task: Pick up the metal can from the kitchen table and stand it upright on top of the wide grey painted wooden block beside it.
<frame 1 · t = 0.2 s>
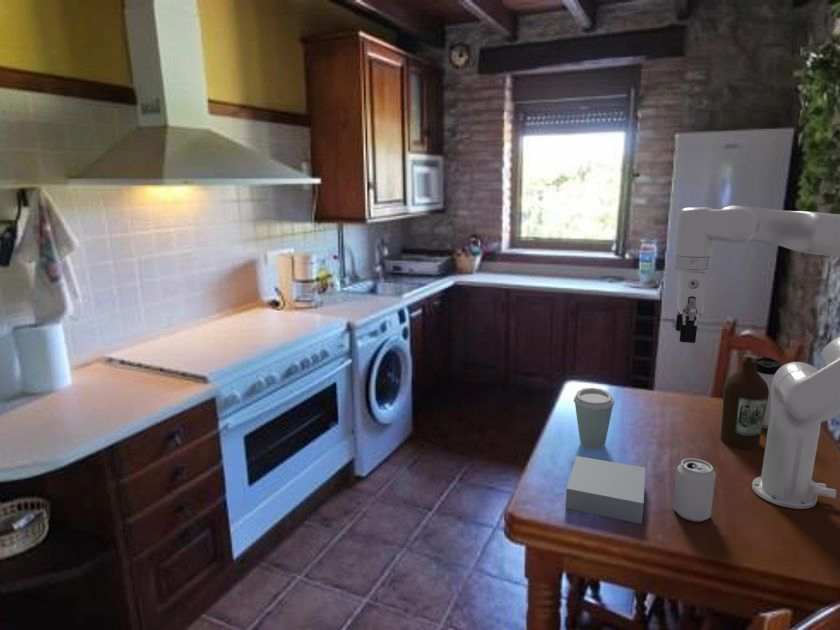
hand: (684, 336, 128), 36 cm above the table, tool pointing down, fingers open, 9 cm apart
grey block: (605, 497, 128), on the table
disposable coffee cup: (591, 444, 154), on the table
can: (691, 514, 121), on the table
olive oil: (739, 442, 154), on the table
travel mug: (759, 424, 164), on the table
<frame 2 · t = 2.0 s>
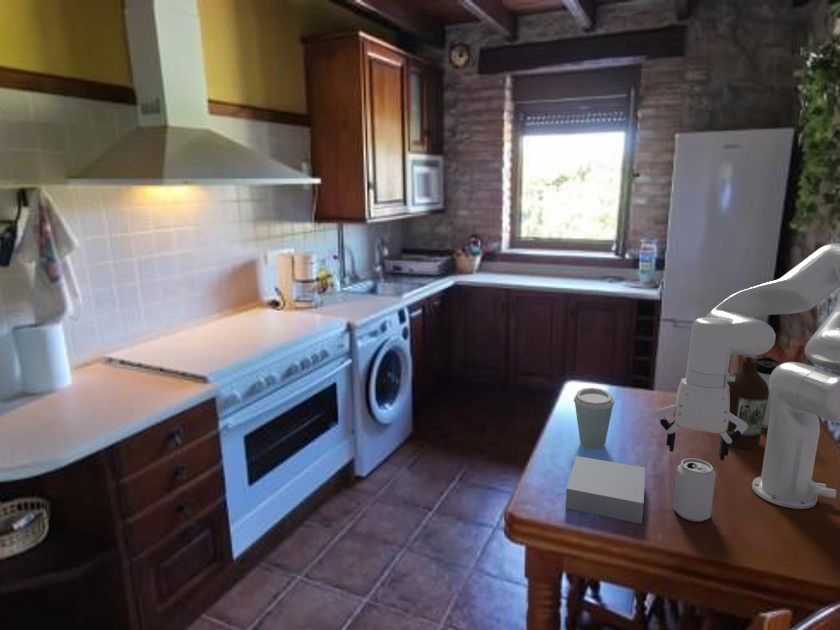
hand: (695, 453, 118), 15 cm above the table, tool pointing down, fingers open, 9 cm apart
nothing on the table moved.
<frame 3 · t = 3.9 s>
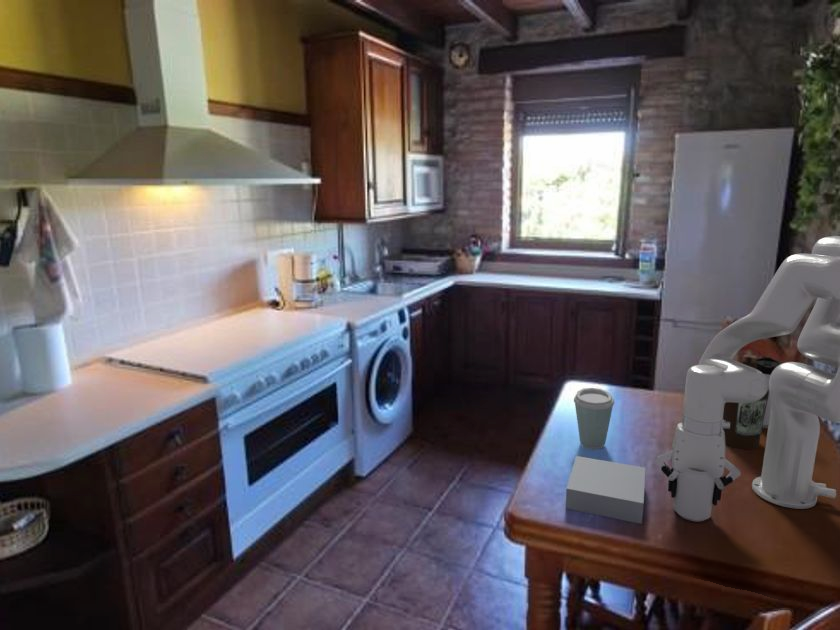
hand: (693, 497, 120), 4 cm above the table, tool pointing down, fingers closed on can, 7 cm apart
can: (691, 514, 121), on the table, touching gripper
everything else where it was.
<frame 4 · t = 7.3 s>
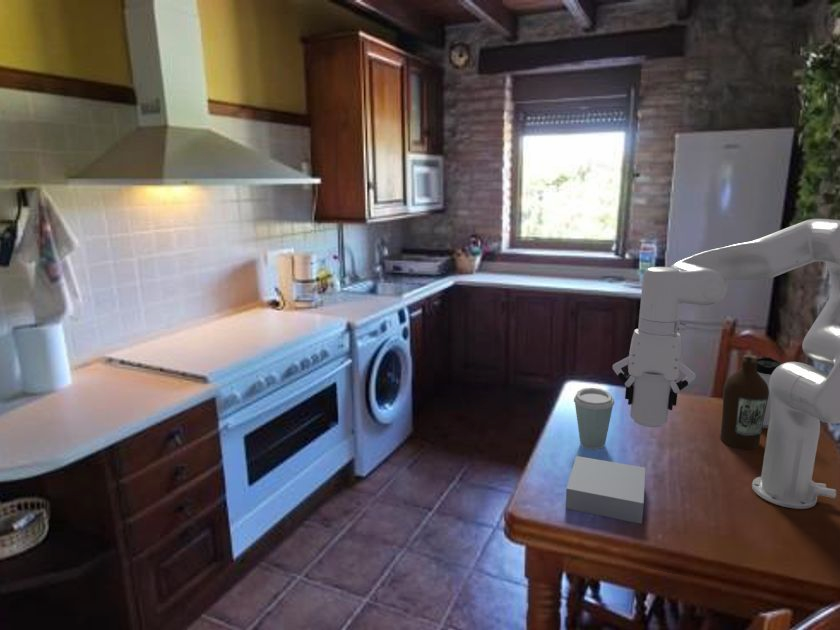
hand: (649, 404, 119), 24 cm above the table, tool pointing down, fingers closed on can, 7 cm apart
can: (648, 422, 120), point 20 cm above the table, touching gripper
everything else where it was.
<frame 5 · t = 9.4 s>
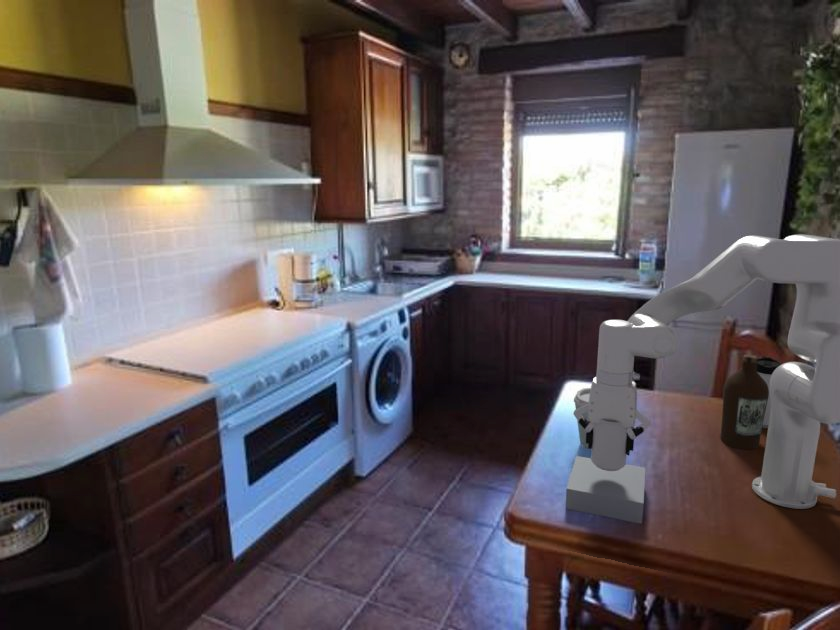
hand: (609, 449, 125), 12 cm above the table, tool pointing down, fingers closed on can, 7 cm apart
can: (607, 465, 126), point 8 cm above the table, touching gripper
everything else where it was.
when the fingers open (10 cm above the table, at t = 11.1 s): can stays where it is, resting on grey block.
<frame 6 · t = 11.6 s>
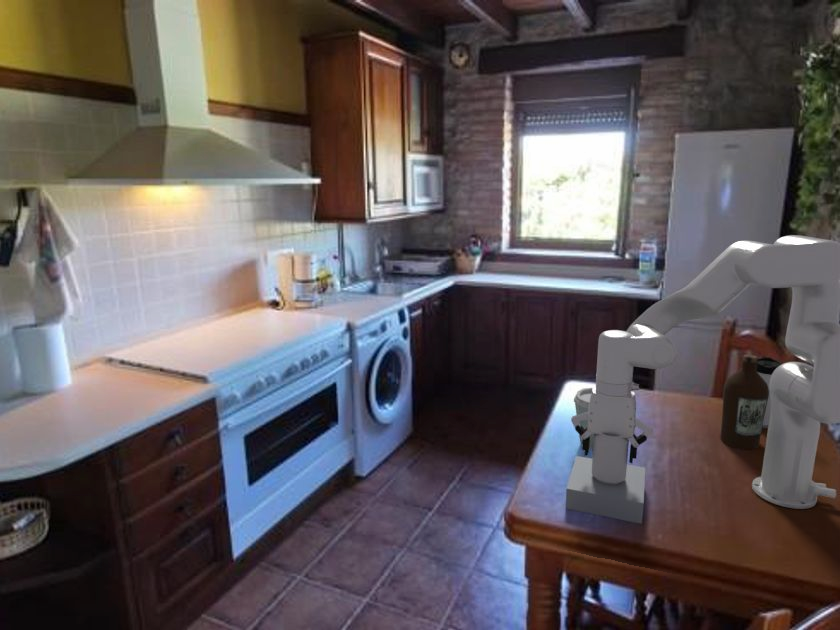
hand: (608, 456, 126), 10 cm above the table, tool pointing down, fingers open, 9 cm apart
can: (608, 478, 127), point 5 cm above the table, touching grey block
everything else where it was.
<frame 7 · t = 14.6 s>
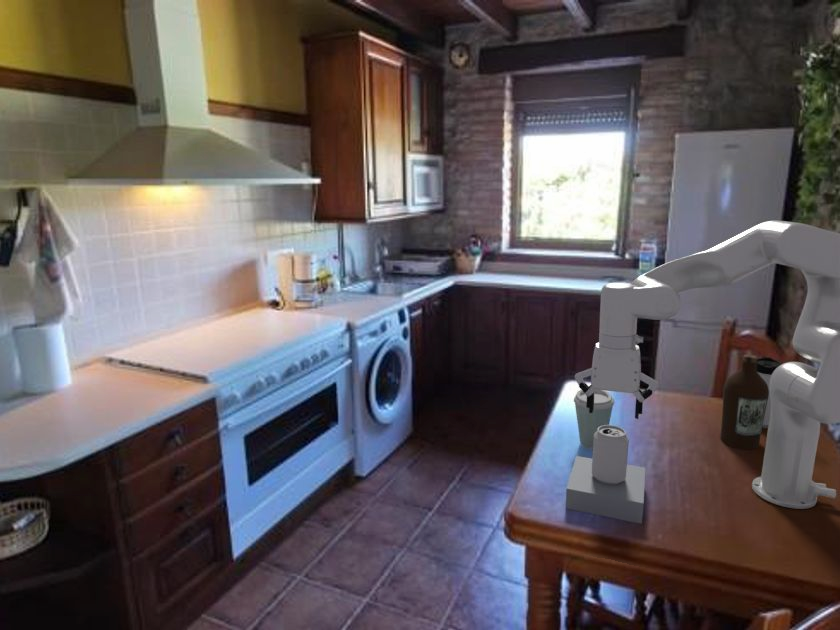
hand: (613, 413, 123), 21 cm above the table, tool pointing down, fingers open, 9 cm apart
nothing on the table moved.
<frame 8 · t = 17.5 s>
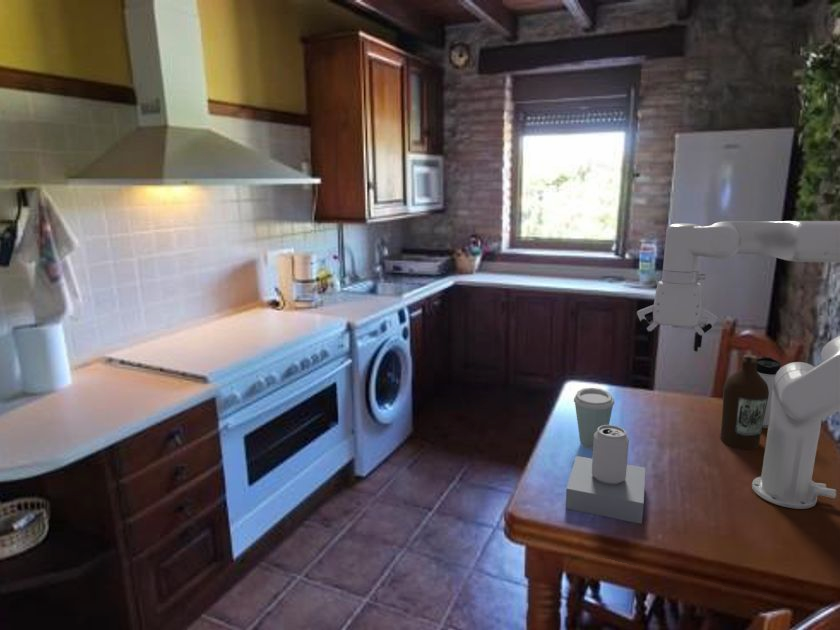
hand: (673, 347, 132), 32 cm above the table, tool pointing down, fingers open, 9 cm apart
nothing on the table moved.
at the end: can inside the target area on the grey block (0.3 cm from its centre), point 4.8 cm above the grey block's base; can tilted 0°; the gripper is holding nothing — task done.
